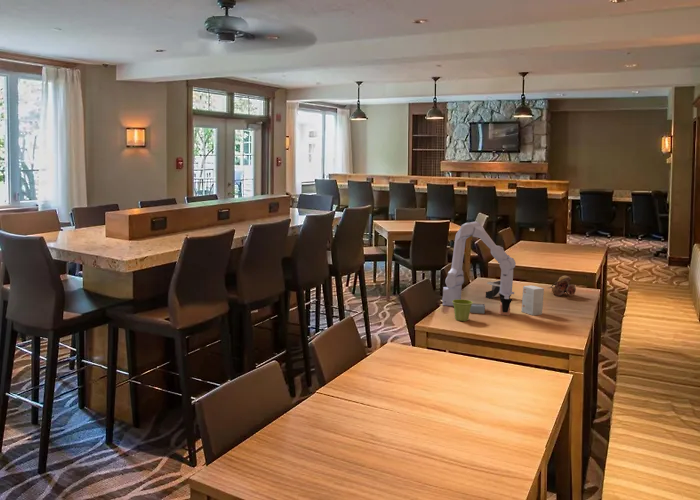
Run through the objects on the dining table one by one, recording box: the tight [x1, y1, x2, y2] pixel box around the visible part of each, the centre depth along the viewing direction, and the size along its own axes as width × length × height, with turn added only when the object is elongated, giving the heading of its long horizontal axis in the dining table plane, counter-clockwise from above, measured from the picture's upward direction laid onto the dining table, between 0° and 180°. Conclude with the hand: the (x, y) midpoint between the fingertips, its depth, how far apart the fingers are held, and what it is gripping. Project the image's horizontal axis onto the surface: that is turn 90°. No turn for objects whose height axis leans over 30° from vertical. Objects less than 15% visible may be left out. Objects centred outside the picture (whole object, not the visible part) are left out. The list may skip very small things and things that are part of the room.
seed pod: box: [547, 275, 577, 297], centre depth 343 cm, size 13×16×15 cm
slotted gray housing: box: [470, 303, 486, 314], centre depth 301 cm, size 8×5×4 cm, turn 80°
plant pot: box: [452, 298, 473, 322], centre depth 286 cm, size 9×9×9 cm
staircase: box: [484, 280, 501, 299], centre depth 332 cm, size 9×10×12 cm
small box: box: [521, 285, 545, 316], centre depth 301 cm, size 8×6×13 cm
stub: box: [499, 301, 511, 316], centre depth 299 cm, size 4×5×5 cm
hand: (504, 310), depth 299 cm, fingers open, 7 cm apart
